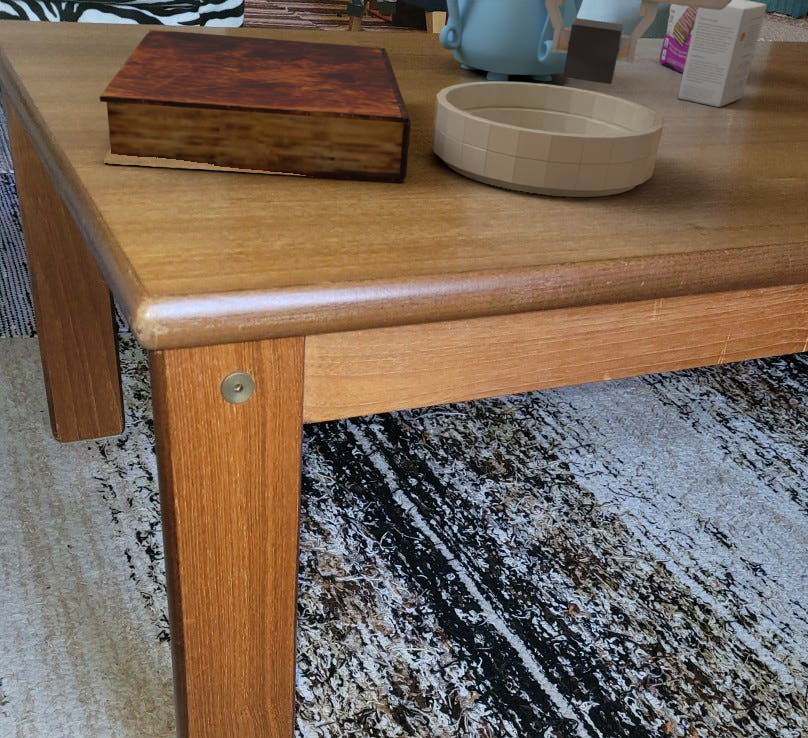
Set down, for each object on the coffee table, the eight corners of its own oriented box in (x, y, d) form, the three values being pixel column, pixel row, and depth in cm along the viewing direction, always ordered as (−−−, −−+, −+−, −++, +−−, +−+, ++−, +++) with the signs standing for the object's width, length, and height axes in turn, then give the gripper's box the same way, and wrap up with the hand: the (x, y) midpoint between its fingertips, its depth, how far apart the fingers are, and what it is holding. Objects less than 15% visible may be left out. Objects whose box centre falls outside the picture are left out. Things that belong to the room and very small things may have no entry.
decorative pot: (588, 75, 126) (610, -48, 118) (547, 94, 114) (569, -42, 106) (471, 54, 131) (485, -65, 123) (420, 70, 119) (431, -61, 111)
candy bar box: (655, 63, 137) (685, -75, 128) (687, 64, 139) (718, -72, 129) (696, 81, 129) (731, -66, 119) (729, 82, 130) (766, -63, 121)
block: (613, 76, 85) (623, 24, 82) (610, 84, 82) (621, 30, 79) (567, 69, 85) (576, 17, 83) (562, 77, 82) (571, 24, 80)
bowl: (652, 155, 95) (664, 100, 92) (647, 214, 79) (661, 149, 76) (453, 126, 97) (459, 72, 95) (410, 178, 82) (415, 114, 79)
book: (406, 183, 81) (411, 118, 78) (104, 164, 78) (97, 96, 75) (383, 99, 104) (386, 48, 102) (151, 83, 102) (148, 29, 99)
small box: (700, 90, 124) (723, -5, 118) (743, 99, 121) (768, 3, 115) (675, 98, 118) (698, -1, 112) (719, 108, 116) (745, 7, 110)
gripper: (487, -160, 73) (464, 45, 81) (768, -129, 71) (715, 79, 79) (500, -159, 78) (477, 34, 86) (762, -130, 76) (713, 66, 84)
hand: (592, 56), depth 82 cm, fingers closed on block, 4 cm apart
